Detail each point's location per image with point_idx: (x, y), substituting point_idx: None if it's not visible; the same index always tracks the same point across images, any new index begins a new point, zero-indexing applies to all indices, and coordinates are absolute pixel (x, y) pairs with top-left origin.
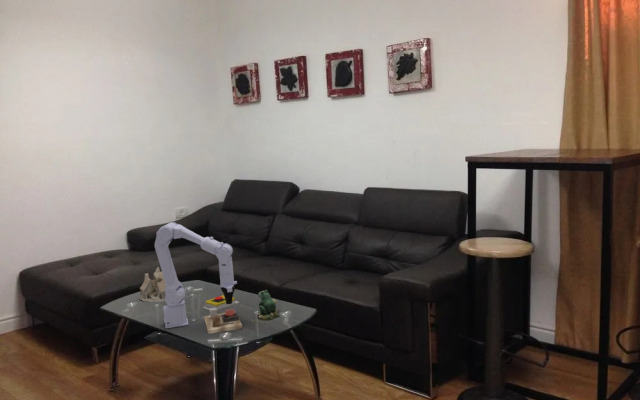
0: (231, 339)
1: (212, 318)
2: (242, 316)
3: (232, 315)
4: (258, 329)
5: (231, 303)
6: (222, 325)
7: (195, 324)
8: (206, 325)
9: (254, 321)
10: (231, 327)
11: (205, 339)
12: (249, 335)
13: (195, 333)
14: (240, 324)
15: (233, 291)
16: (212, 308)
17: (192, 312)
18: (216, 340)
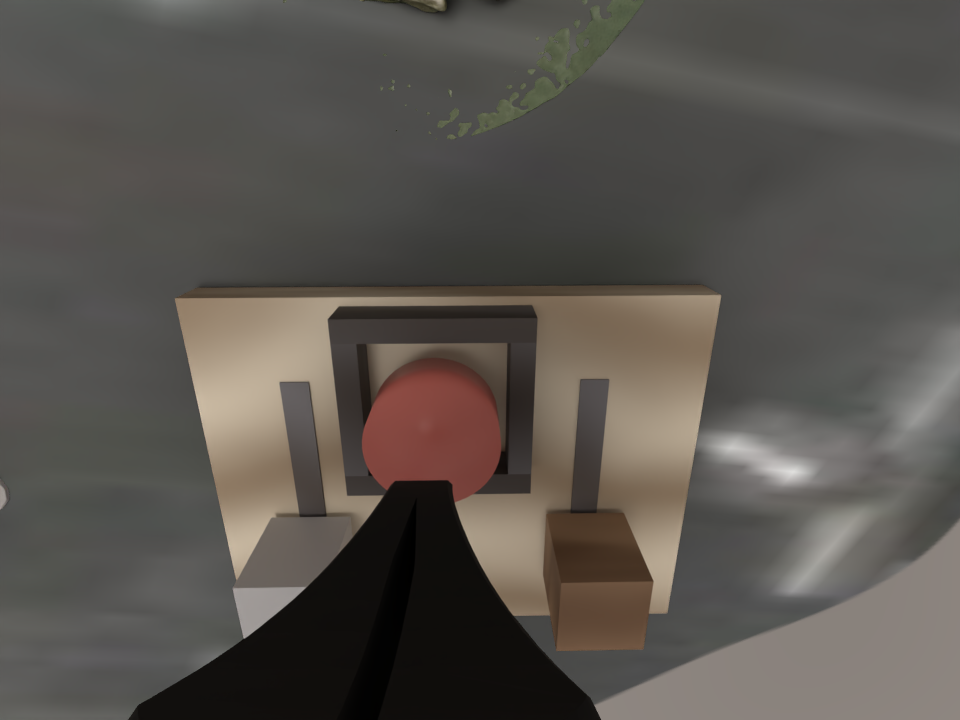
0: (919, 425)
1: (622, 646)
2: (292, 217)
3: (492, 396)
4: (856, 97)
5: (450, 486)
6: (608, 490)
7: None
8: (524, 615)
9: (550, 92)
10: (696, 409)
11: (760, 610)
12: (956, 241)
13: (579, 663)
14: (694, 309)
15: (568, 688)
16: (257, 627)
17: (15, 664)
18: (845, 540)
